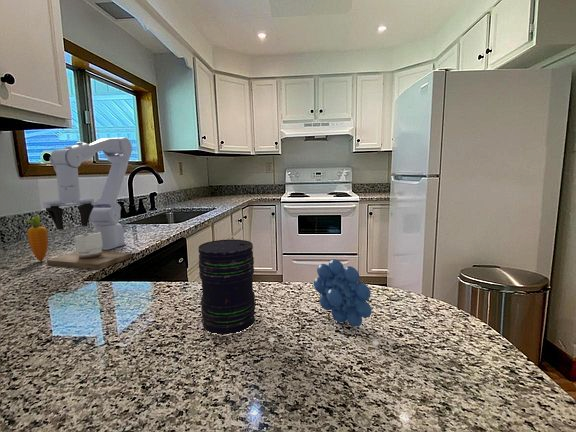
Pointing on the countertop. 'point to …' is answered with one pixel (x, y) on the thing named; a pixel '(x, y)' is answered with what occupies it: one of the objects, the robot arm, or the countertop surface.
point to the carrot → (37, 238)
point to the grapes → (343, 292)
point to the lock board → (89, 260)
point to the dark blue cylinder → (227, 285)
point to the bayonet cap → (89, 245)
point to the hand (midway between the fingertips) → (72, 227)
